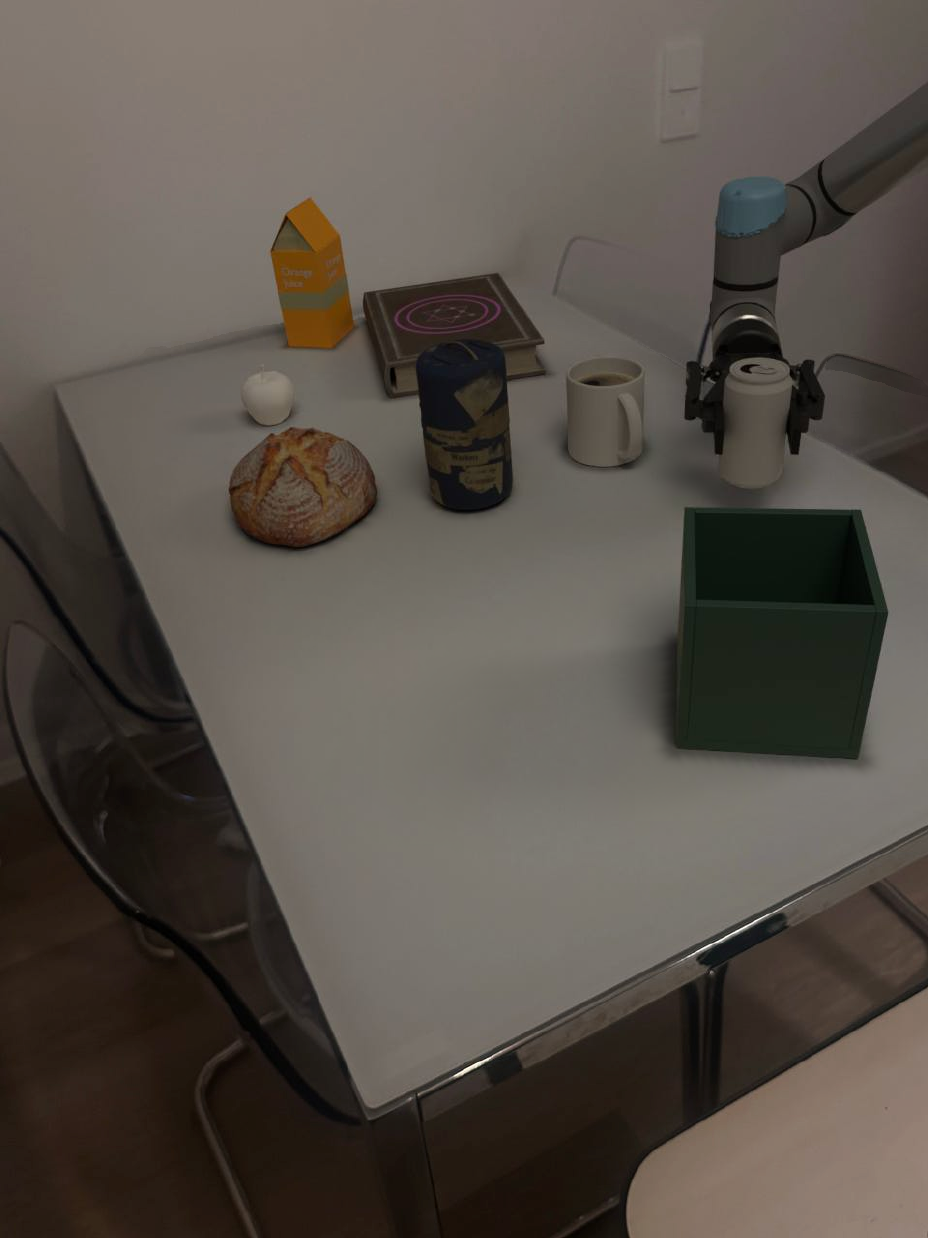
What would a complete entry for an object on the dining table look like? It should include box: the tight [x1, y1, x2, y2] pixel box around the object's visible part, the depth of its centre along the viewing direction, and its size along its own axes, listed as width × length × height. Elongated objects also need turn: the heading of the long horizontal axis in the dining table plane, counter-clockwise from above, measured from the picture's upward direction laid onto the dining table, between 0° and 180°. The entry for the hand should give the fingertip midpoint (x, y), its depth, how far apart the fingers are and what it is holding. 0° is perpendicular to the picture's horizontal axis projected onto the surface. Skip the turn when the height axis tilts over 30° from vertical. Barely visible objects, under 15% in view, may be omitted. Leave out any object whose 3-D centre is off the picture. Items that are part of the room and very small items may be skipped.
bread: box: [228, 426, 378, 548], centre depth 112 cm, size 16×20×10 cm
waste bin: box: [675, 506, 889, 760], centre depth 79 cm, size 14×14×14 cm
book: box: [362, 272, 547, 399], centre depth 149 cm, size 30×22×5 cm
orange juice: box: [269, 196, 355, 349], centre depth 153 cm, size 8×9×20 cm
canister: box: [416, 339, 514, 511], centre depth 109 cm, size 10×10×18 cm
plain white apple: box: [240, 363, 295, 427], centre depth 133 cm, size 7×7×8 cm
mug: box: [565, 355, 646, 468], centre depth 116 cm, size 11×10×10 cm
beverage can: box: [717, 358, 793, 490], centre depth 101 cm, size 6×6×12 cm
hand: (757, 441), depth 97 cm, fingers closed on beverage can, 6 cm apart
